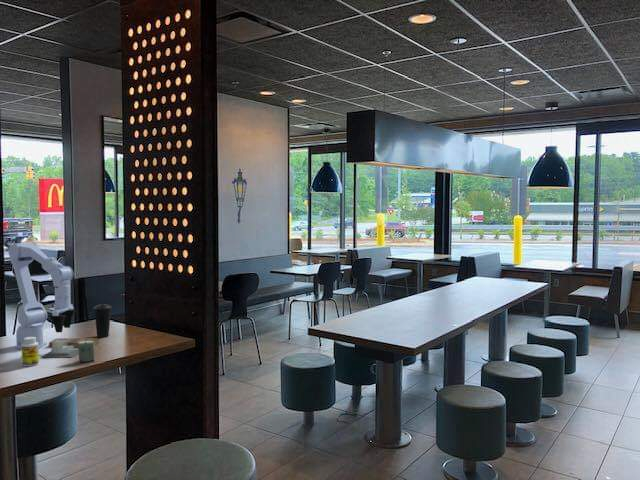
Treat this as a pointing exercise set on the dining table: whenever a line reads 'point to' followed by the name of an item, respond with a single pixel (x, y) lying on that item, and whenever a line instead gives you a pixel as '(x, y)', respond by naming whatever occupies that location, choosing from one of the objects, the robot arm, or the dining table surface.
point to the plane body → (75, 341)
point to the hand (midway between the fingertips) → (63, 329)
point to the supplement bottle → (30, 352)
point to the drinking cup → (102, 319)
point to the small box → (86, 351)
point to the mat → (61, 355)
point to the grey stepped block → (61, 348)
